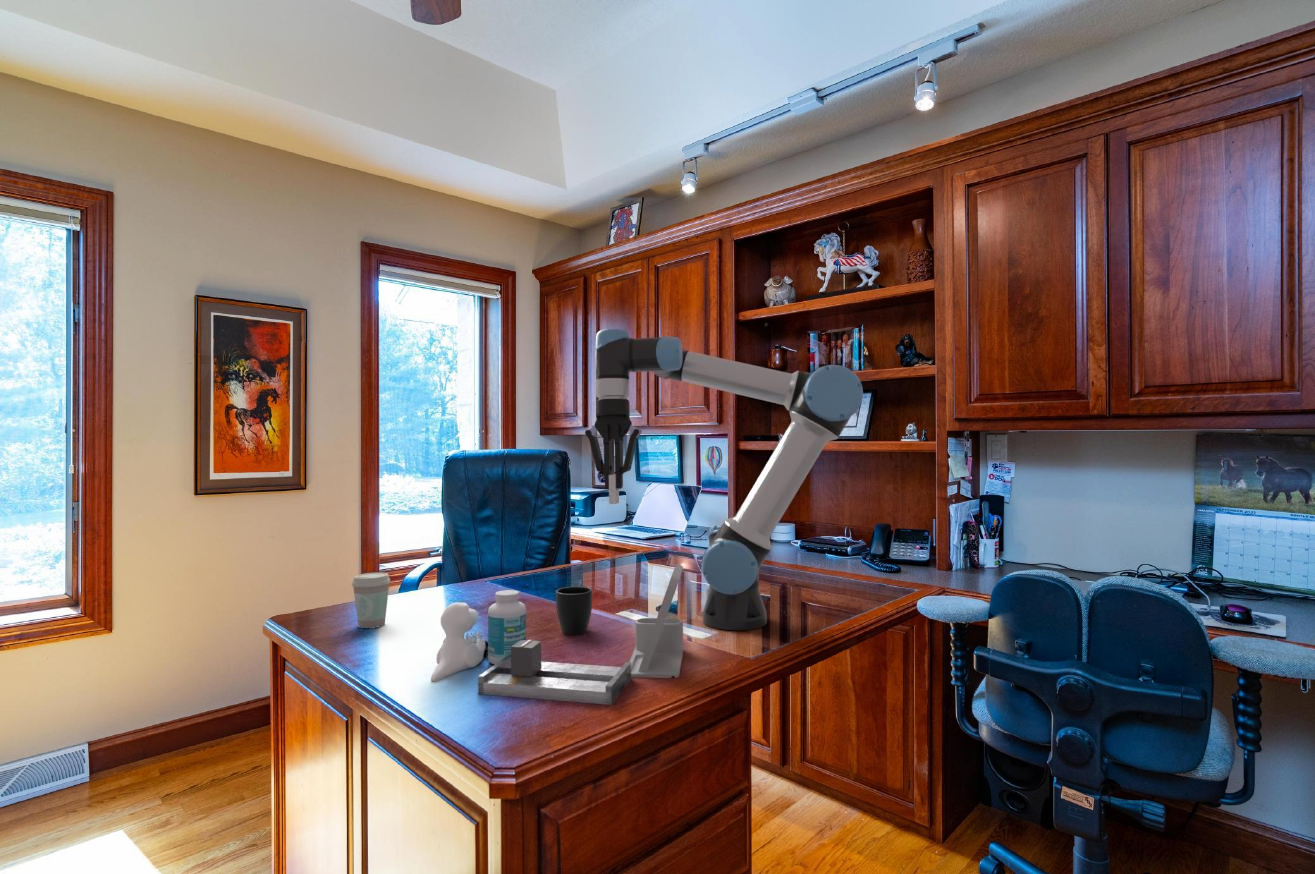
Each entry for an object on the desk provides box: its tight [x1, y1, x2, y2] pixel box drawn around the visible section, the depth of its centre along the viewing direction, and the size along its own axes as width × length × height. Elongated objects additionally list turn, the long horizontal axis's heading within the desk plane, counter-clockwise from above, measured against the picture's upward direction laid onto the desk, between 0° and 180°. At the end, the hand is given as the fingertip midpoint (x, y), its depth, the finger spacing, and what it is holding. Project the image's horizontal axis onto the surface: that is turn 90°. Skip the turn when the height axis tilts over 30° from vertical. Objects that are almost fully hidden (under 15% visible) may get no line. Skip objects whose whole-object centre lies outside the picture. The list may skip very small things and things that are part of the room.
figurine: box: [430, 601, 488, 682], centre depth 126 cm, size 8×18×12 cm, turn 166°
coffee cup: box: [351, 571, 391, 629], centre depth 155 cm, size 8×9×12 cm
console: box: [477, 654, 632, 706], centre depth 114 cm, size 24×12×3 cm, turn 77°
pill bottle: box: [487, 589, 527, 665], centre depth 128 cm, size 8×7×14 cm
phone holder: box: [629, 563, 685, 679], centre depth 127 cm, size 17×10×18 cm, turn 175°
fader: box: [511, 639, 542, 677], centre depth 115 cm, size 4×4×6 cm
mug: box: [555, 585, 593, 636], centre depth 149 cm, size 8×12×10 cm
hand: (614, 503), depth 145 cm, fingers closed
